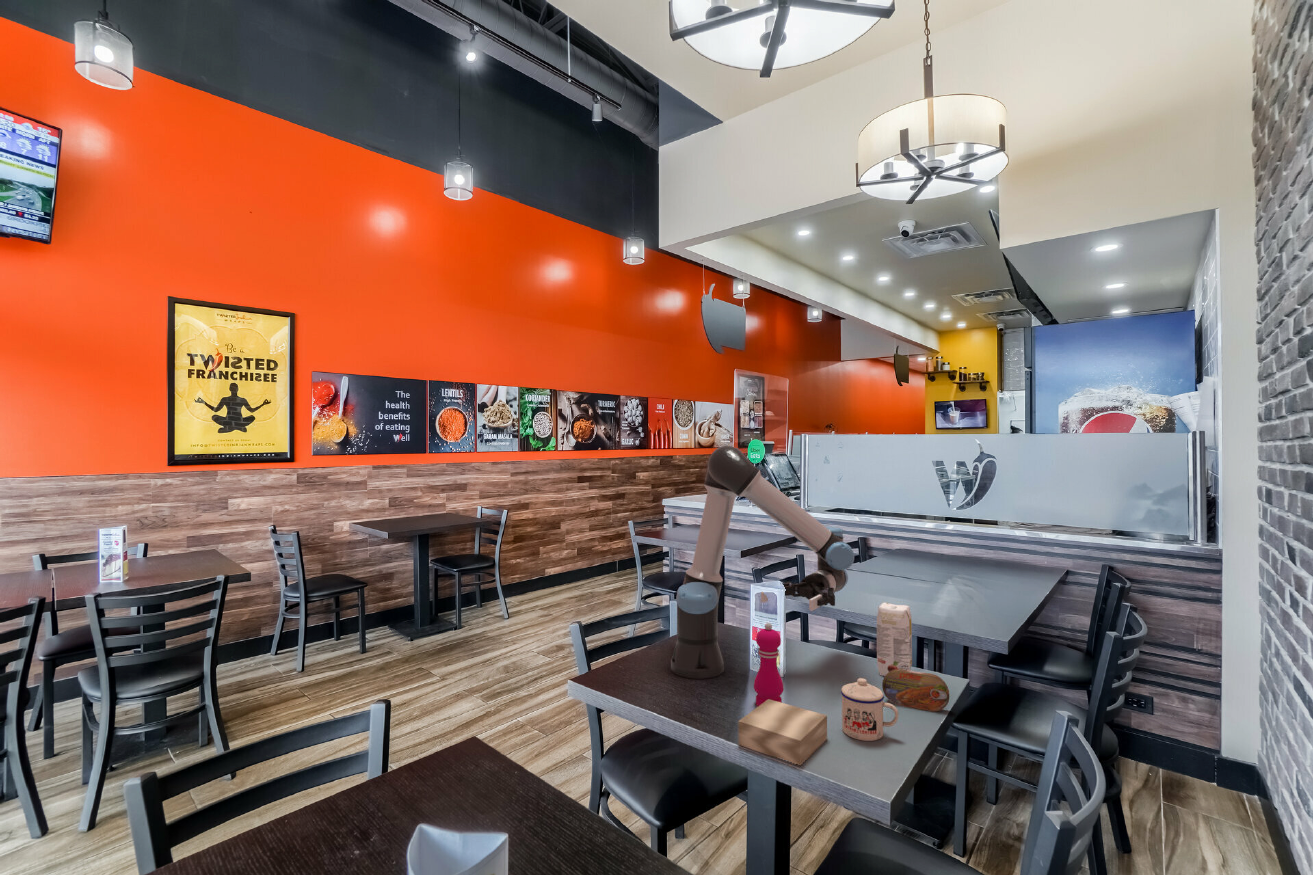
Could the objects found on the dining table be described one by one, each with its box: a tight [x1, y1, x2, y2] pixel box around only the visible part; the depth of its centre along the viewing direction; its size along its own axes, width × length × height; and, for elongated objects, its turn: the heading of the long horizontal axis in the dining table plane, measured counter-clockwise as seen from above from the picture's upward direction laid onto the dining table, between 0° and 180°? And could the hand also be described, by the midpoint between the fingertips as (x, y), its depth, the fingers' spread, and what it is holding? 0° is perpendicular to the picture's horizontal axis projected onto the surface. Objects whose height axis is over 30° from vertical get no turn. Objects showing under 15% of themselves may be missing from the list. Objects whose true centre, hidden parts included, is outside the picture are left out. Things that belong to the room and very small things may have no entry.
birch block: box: [737, 699, 828, 766], centre depth 128 cm, size 14×14×5 cm
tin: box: [881, 669, 950, 712], centre depth 146 cm, size 15×3×8 cm, turn 62°
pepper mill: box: [753, 622, 785, 707], centre depth 147 cm, size 7×7×20 cm
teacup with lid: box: [840, 677, 899, 742], centre depth 132 cm, size 12×9×12 cm
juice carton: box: [876, 602, 913, 677], centre depth 166 cm, size 8×9×19 cm
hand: (785, 601), depth 155 cm, fingers open, 13 cm apart
